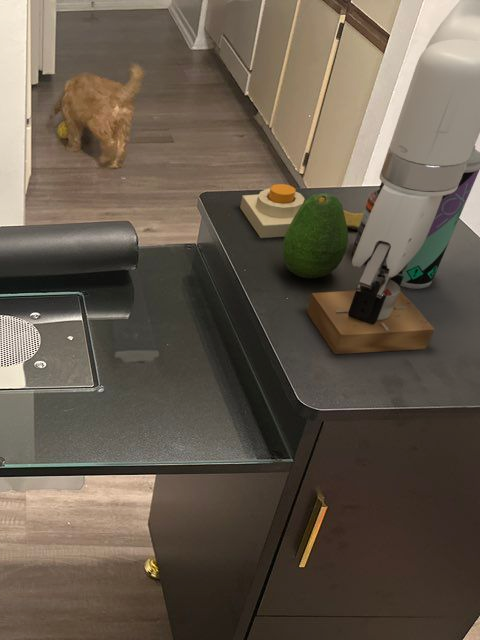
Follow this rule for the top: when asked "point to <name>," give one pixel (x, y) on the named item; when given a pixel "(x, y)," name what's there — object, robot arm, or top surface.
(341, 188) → the top surface
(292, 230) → the fruit
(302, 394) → the top surface
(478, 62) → the robot arm
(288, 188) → the button
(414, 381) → the top surface
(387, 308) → the knob
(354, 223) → the tan elongated lumpy piece
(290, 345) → the top surface
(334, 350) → the dial panel
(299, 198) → the button box
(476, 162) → the spray can
